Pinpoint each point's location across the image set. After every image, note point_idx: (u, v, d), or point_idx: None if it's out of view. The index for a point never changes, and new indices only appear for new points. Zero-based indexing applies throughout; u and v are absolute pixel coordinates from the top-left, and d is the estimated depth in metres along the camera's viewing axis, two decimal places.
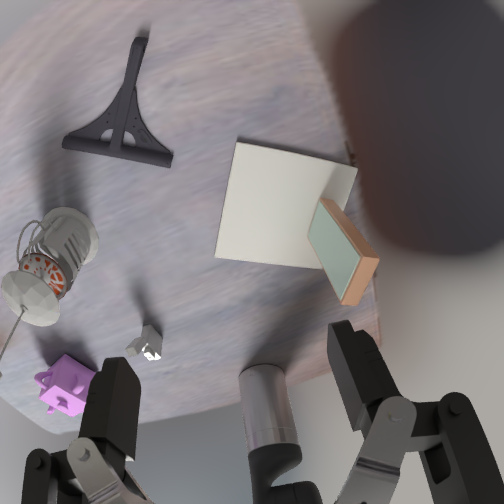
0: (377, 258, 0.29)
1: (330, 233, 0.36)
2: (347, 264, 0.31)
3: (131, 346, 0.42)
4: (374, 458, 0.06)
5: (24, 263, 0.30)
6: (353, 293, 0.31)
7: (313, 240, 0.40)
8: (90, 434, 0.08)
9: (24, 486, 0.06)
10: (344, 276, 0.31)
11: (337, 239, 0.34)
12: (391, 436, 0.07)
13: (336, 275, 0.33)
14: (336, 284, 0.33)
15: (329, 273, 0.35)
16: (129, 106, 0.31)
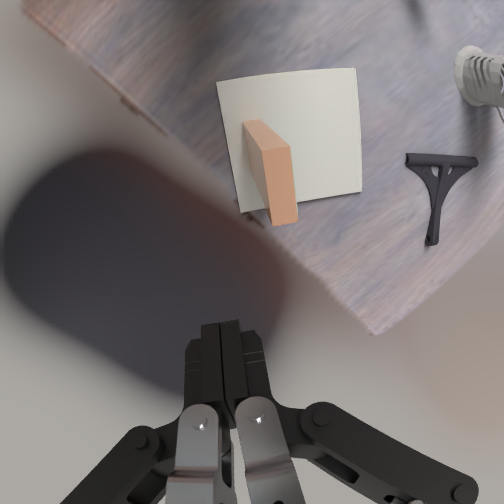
0: (275, 225, 0.24)
1: None
2: None
3: None
4: (260, 460, 0.07)
5: None
6: (281, 169, 0.22)
7: None
8: (204, 400, 0.09)
9: (109, 454, 0.07)
10: None
11: None
12: (243, 436, 0.08)
13: None
14: None
15: None
16: (436, 197, 0.41)
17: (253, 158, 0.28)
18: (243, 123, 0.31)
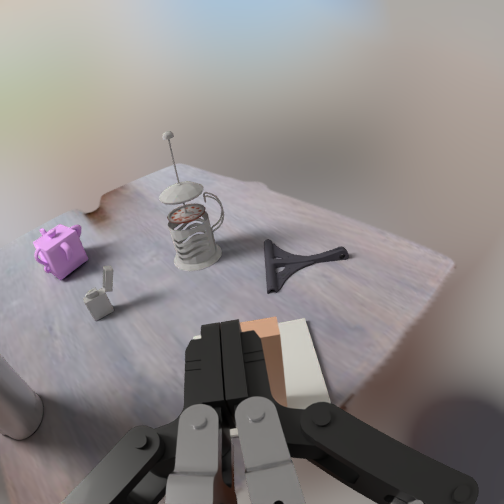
0: (279, 332, 0.24)
1: None
2: None
3: None
4: (260, 460, 0.07)
5: (195, 206, 0.58)
6: None
7: None
8: (204, 400, 0.09)
9: (109, 454, 0.07)
10: None
11: None
12: (243, 436, 0.08)
13: None
14: None
15: None
16: (302, 262, 0.55)
17: None
18: None
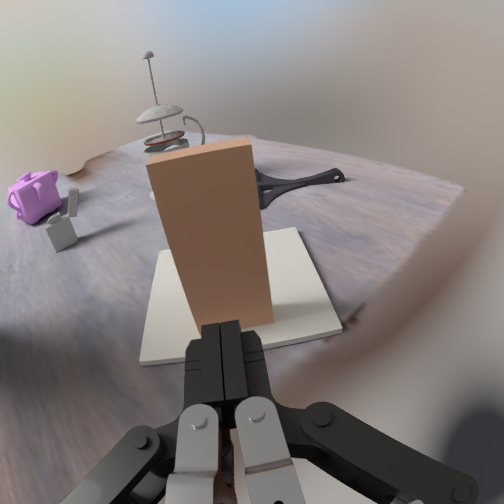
0: None
1: None
2: None
3: None
4: (260, 461, 0.07)
5: (175, 133, 0.51)
6: (174, 153, 0.18)
7: None
8: (204, 400, 0.09)
9: (109, 454, 0.07)
10: None
11: None
12: (243, 436, 0.08)
13: None
14: None
15: None
16: (292, 183, 0.47)
17: (213, 260, 0.21)
18: None
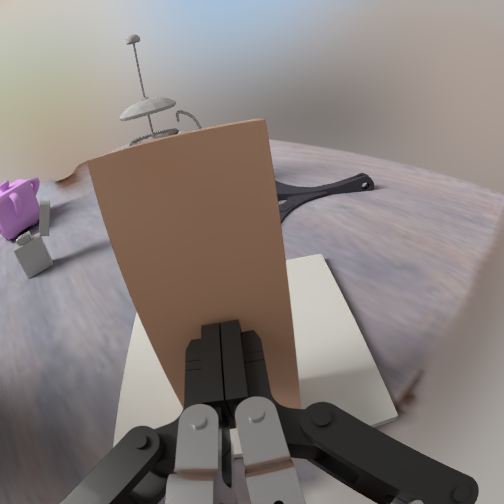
0: None
1: None
2: None
3: None
4: (260, 460, 0.07)
5: (167, 132, 0.42)
6: (138, 144, 0.10)
7: None
8: (204, 400, 0.09)
9: (109, 455, 0.07)
10: None
11: None
12: (243, 436, 0.08)
13: None
14: None
15: None
16: (311, 192, 0.38)
17: (204, 324, 0.12)
18: None
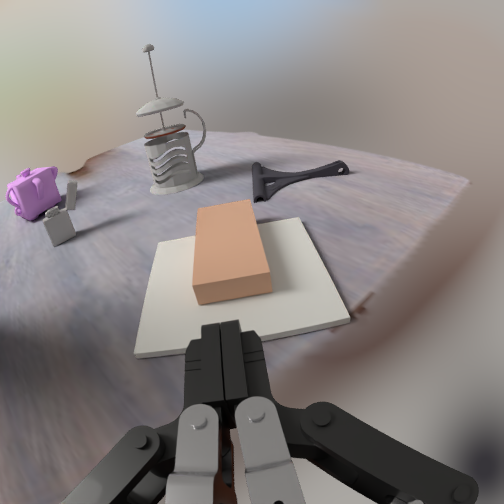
0: (249, 201, 0.36)
1: None
2: None
3: (76, 184, 0.40)
4: (260, 460, 0.07)
5: (175, 127, 0.50)
6: None
7: None
8: (204, 400, 0.09)
9: (109, 454, 0.07)
10: None
11: None
12: (243, 436, 0.08)
13: None
14: None
15: None
16: (295, 176, 0.46)
17: (221, 235, 0.29)
18: None
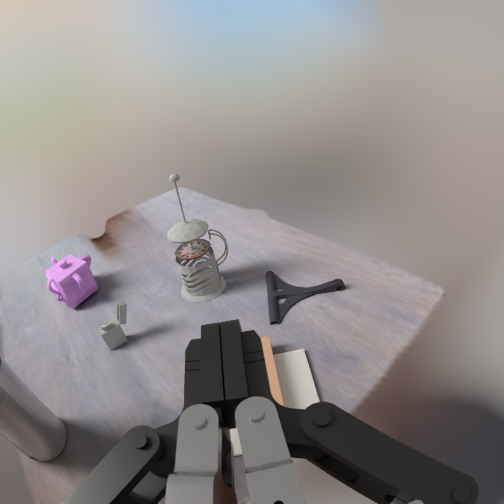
0: (268, 337, 0.48)
1: None
2: None
3: None
4: (260, 460, 0.07)
5: (201, 241, 0.63)
6: None
7: None
8: (204, 400, 0.09)
9: (109, 454, 0.07)
10: None
11: None
12: (243, 435, 0.08)
13: None
14: None
15: None
16: (302, 294, 0.59)
17: None
18: None
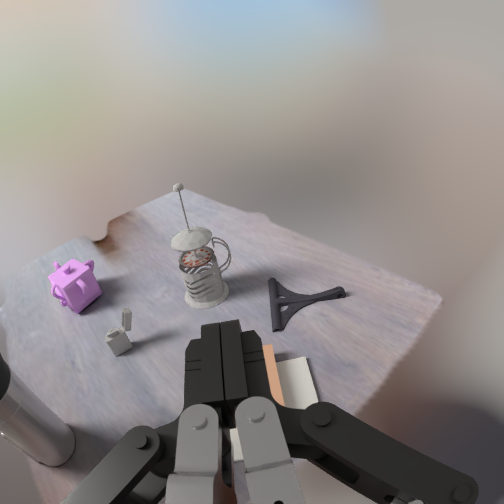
0: (271, 345, 0.49)
1: None
2: None
3: None
4: (260, 461, 0.07)
5: (204, 248, 0.64)
6: None
7: None
8: (204, 400, 0.09)
9: (109, 454, 0.07)
10: None
11: None
12: (243, 436, 0.08)
13: None
14: None
15: None
16: (304, 301, 0.60)
17: None
18: None
